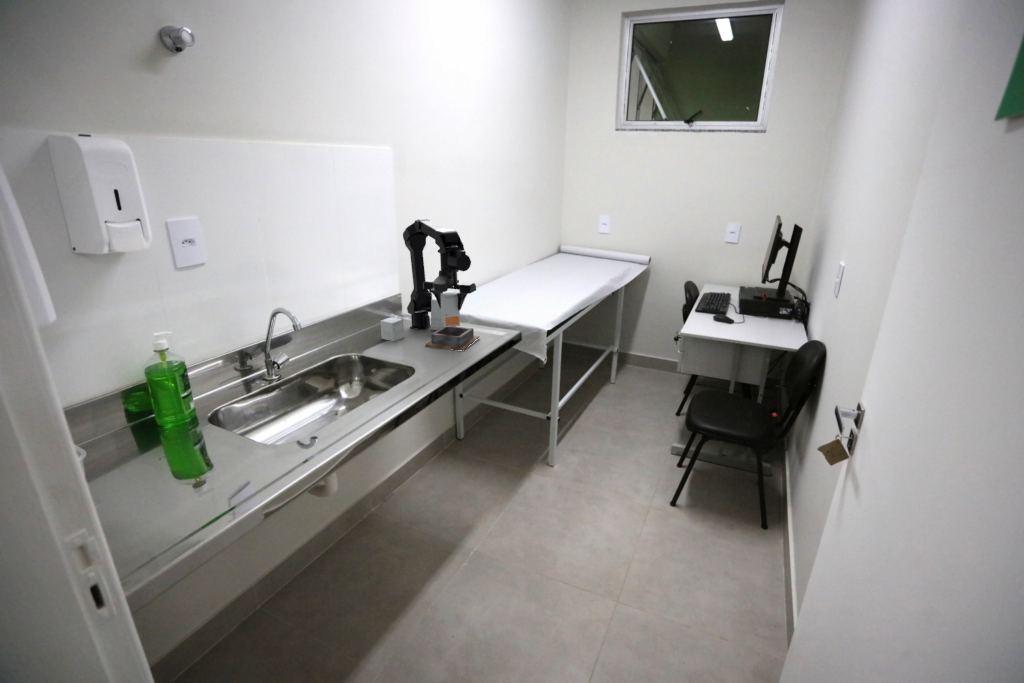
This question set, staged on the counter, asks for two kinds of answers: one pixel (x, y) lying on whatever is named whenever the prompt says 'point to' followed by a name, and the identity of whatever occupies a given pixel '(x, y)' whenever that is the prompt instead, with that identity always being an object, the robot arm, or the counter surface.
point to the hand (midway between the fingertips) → (450, 309)
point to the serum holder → (452, 338)
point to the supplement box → (435, 315)
